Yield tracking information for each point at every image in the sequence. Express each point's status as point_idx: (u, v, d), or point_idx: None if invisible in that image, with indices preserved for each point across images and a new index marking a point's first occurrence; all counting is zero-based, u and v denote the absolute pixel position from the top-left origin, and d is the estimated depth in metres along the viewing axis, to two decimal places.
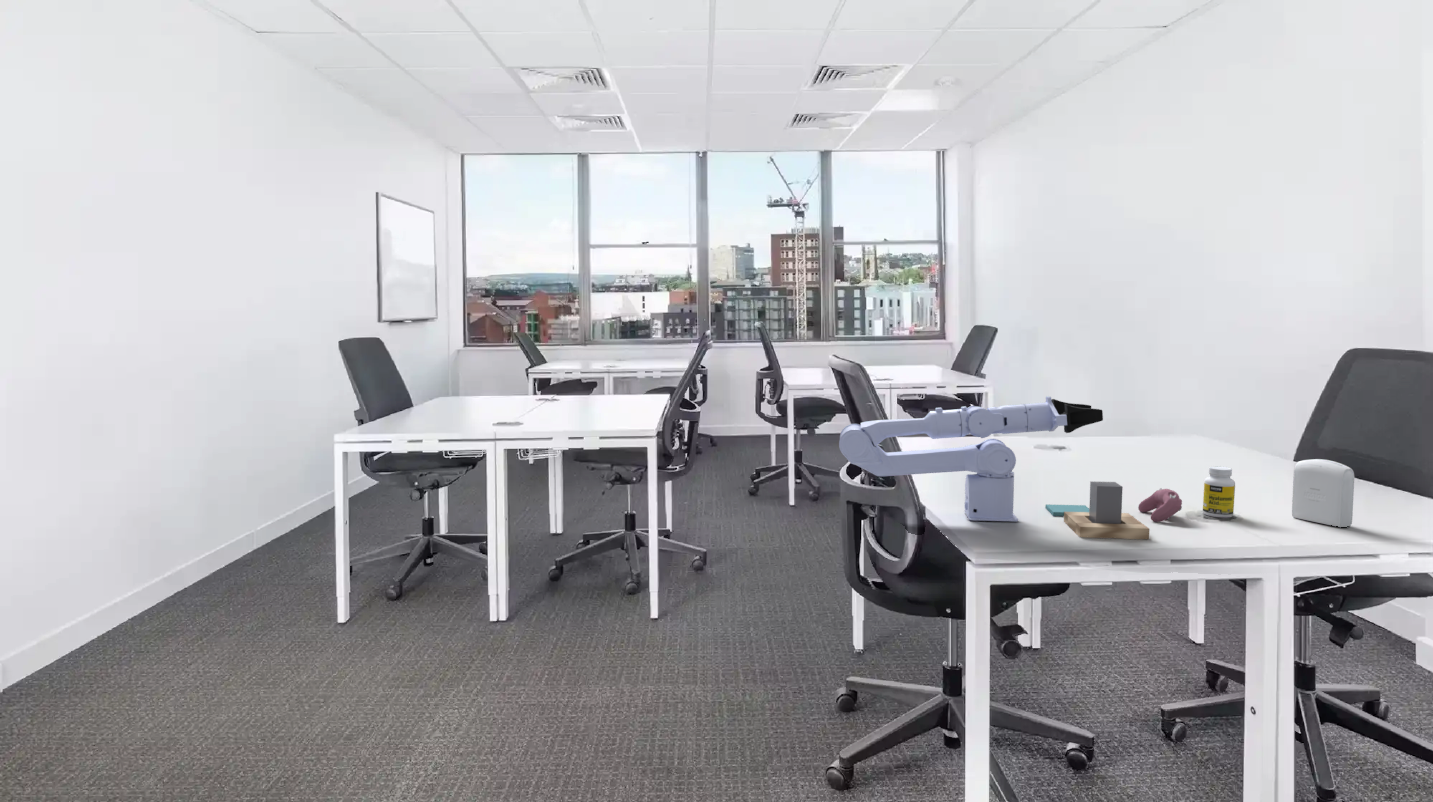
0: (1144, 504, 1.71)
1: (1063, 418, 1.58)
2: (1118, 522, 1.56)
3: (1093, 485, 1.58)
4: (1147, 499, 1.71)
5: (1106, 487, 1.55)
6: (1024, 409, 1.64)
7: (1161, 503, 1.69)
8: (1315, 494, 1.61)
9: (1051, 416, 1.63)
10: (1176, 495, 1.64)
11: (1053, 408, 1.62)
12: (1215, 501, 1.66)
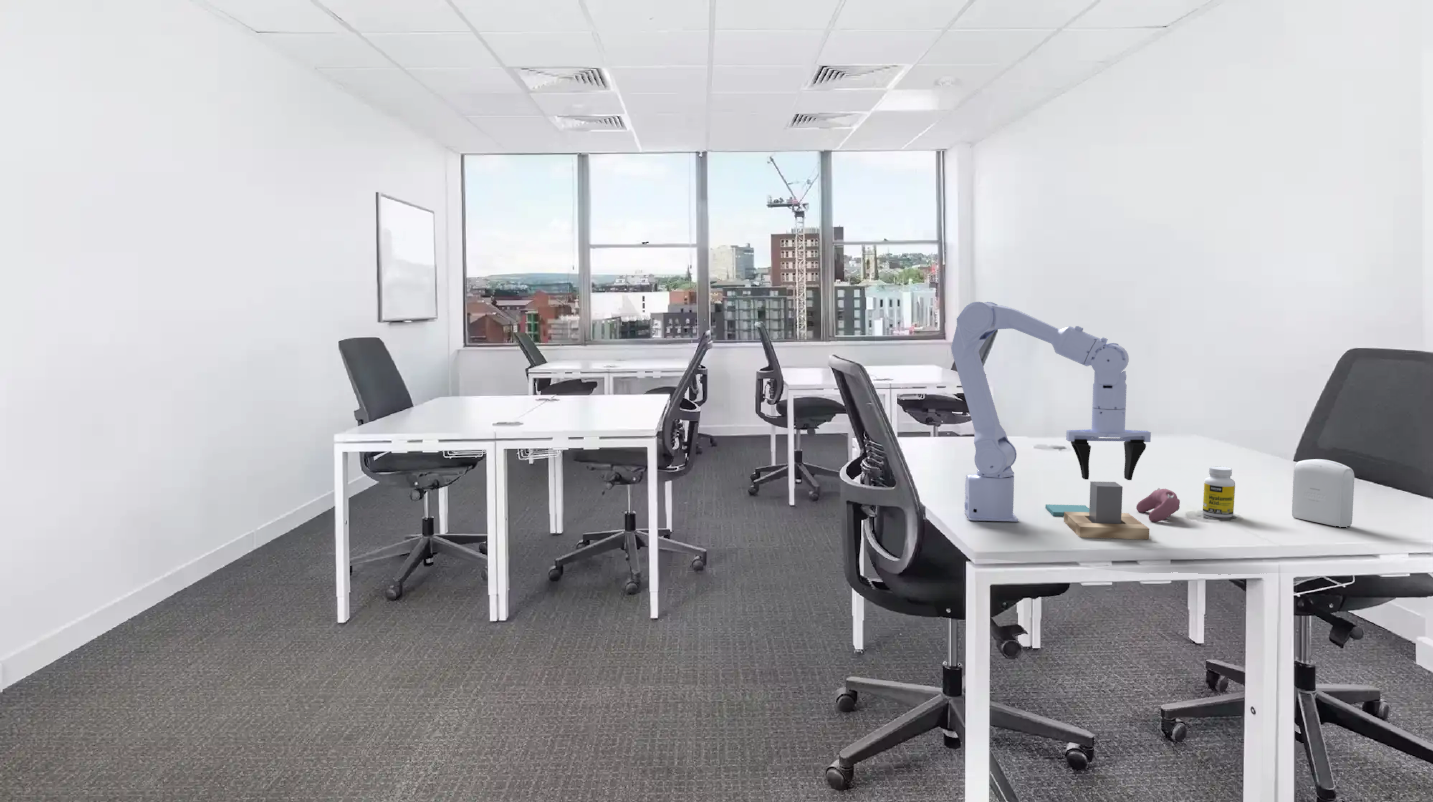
0: (1142, 504, 1.72)
1: (1067, 437, 1.57)
2: (1118, 522, 1.56)
3: (1093, 485, 1.58)
4: (1145, 499, 1.72)
5: (1106, 487, 1.55)
6: (1119, 407, 1.53)
7: (1159, 503, 1.69)
8: (1315, 494, 1.61)
9: (1091, 431, 1.57)
10: (1174, 495, 1.64)
11: (1091, 434, 1.55)
12: (1215, 501, 1.66)
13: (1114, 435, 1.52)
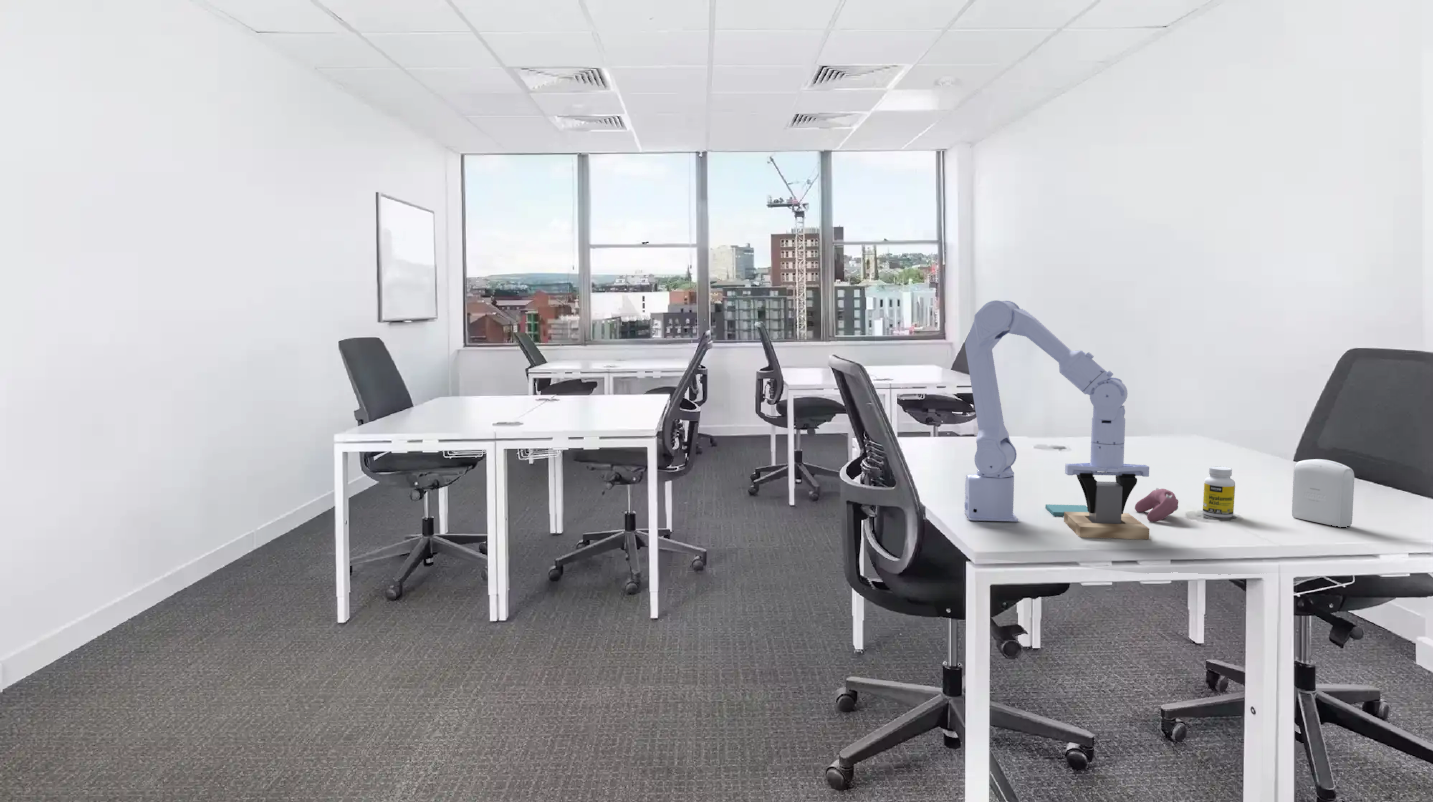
0: (1140, 504, 1.72)
1: (1066, 471, 1.58)
2: (1118, 522, 1.56)
3: None
4: (1143, 499, 1.72)
5: (1106, 487, 1.55)
6: (1118, 442, 1.54)
7: (1157, 503, 1.69)
8: (1315, 494, 1.61)
9: (1090, 465, 1.57)
10: (1172, 495, 1.64)
11: (1090, 468, 1.56)
12: (1215, 501, 1.66)
13: (1113, 470, 1.53)
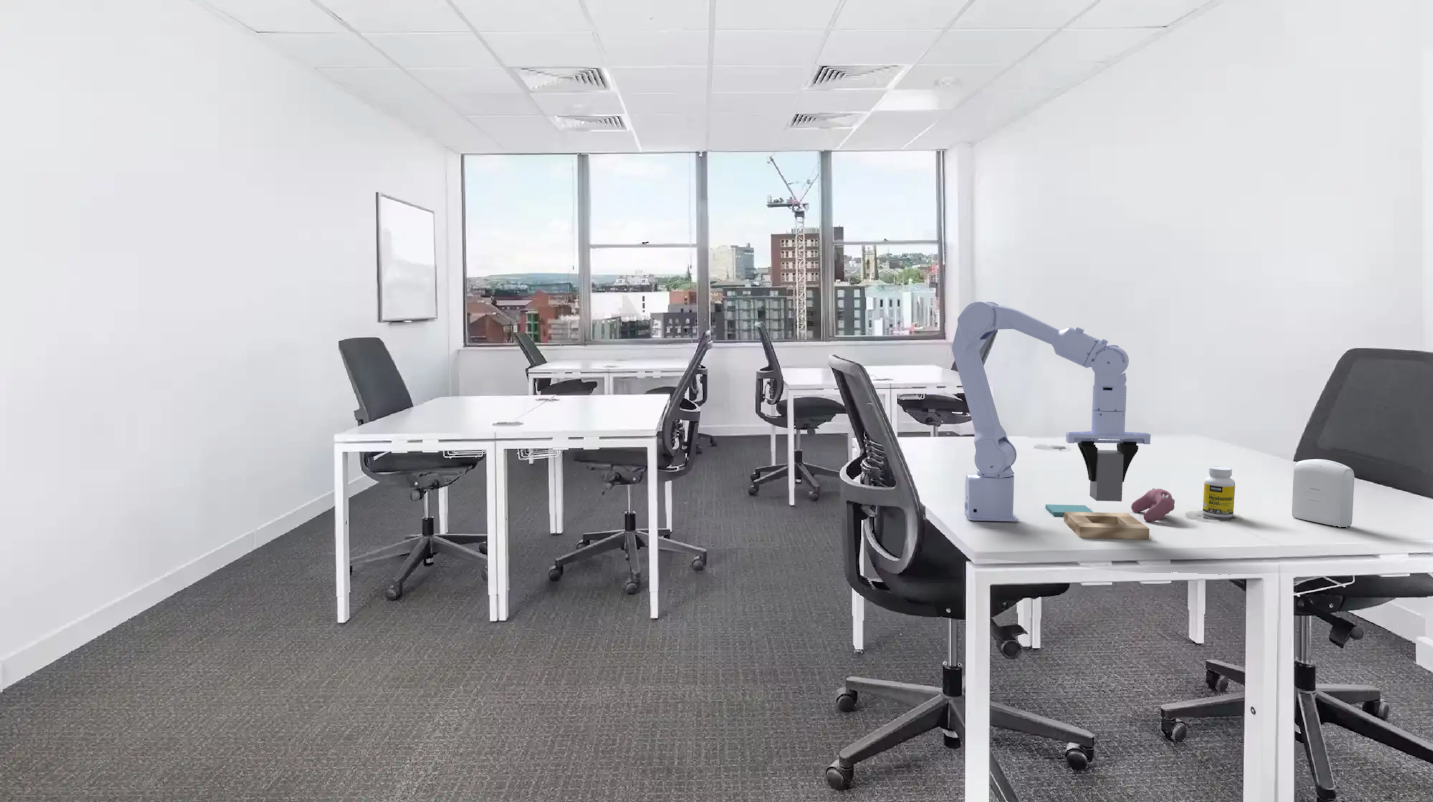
0: (1137, 504, 1.72)
1: (1067, 439, 1.57)
2: (1119, 490, 1.55)
3: None
4: (1140, 499, 1.72)
5: (1107, 455, 1.55)
6: (1119, 409, 1.53)
7: (1154, 503, 1.69)
8: (1315, 494, 1.61)
9: (1091, 433, 1.57)
10: (1169, 495, 1.65)
11: (1091, 436, 1.55)
12: (1215, 501, 1.66)
13: (1114, 437, 1.53)
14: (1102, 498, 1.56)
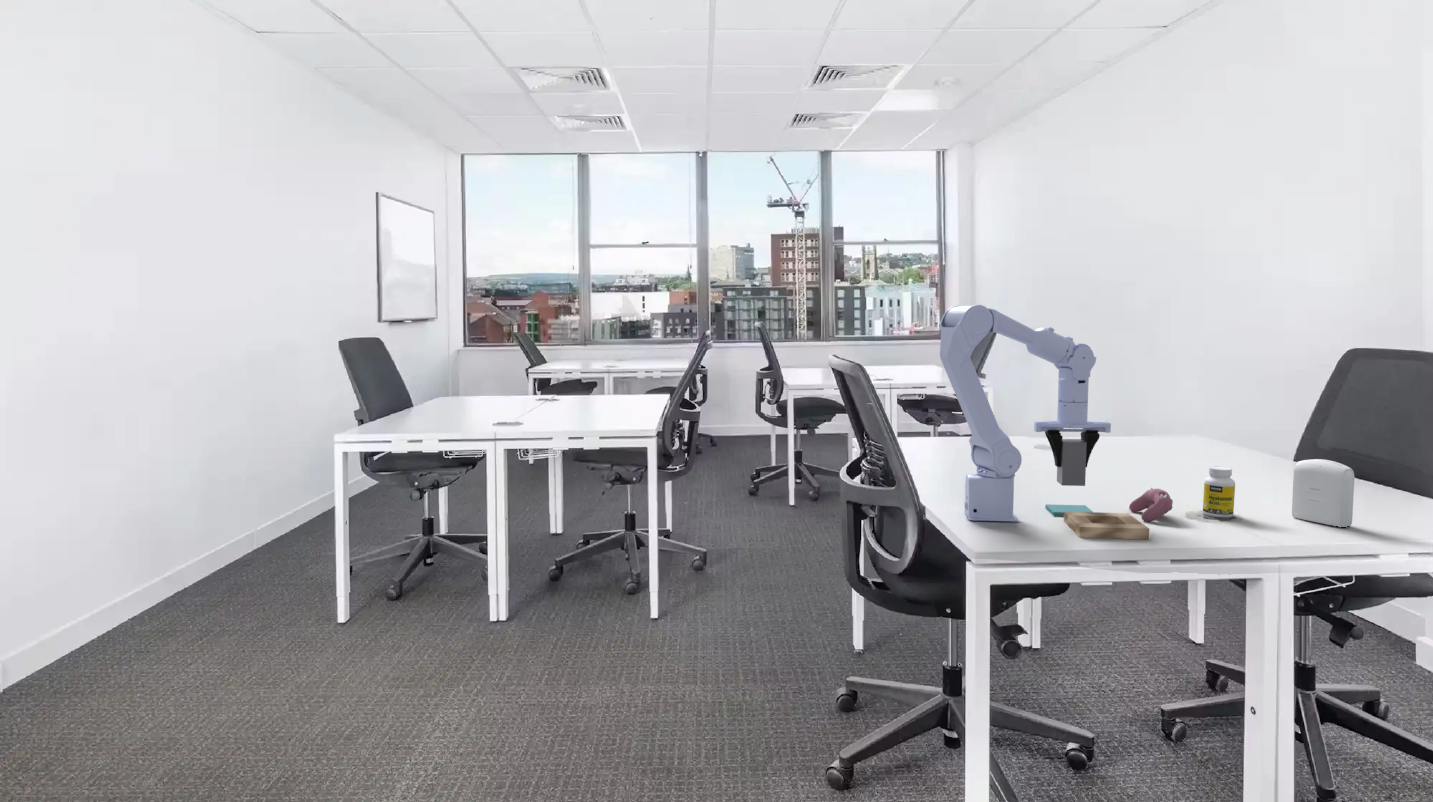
0: (1135, 504, 1.72)
1: (1035, 428, 1.72)
2: (1083, 475, 1.69)
3: None
4: (1138, 499, 1.72)
5: (1071, 443, 1.69)
6: (1087, 400, 1.69)
7: (1152, 503, 1.69)
8: (1315, 494, 1.61)
9: (1057, 422, 1.71)
10: (1167, 495, 1.65)
11: (1056, 425, 1.69)
12: (1215, 501, 1.66)
13: (1077, 426, 1.67)
14: (1067, 483, 1.70)
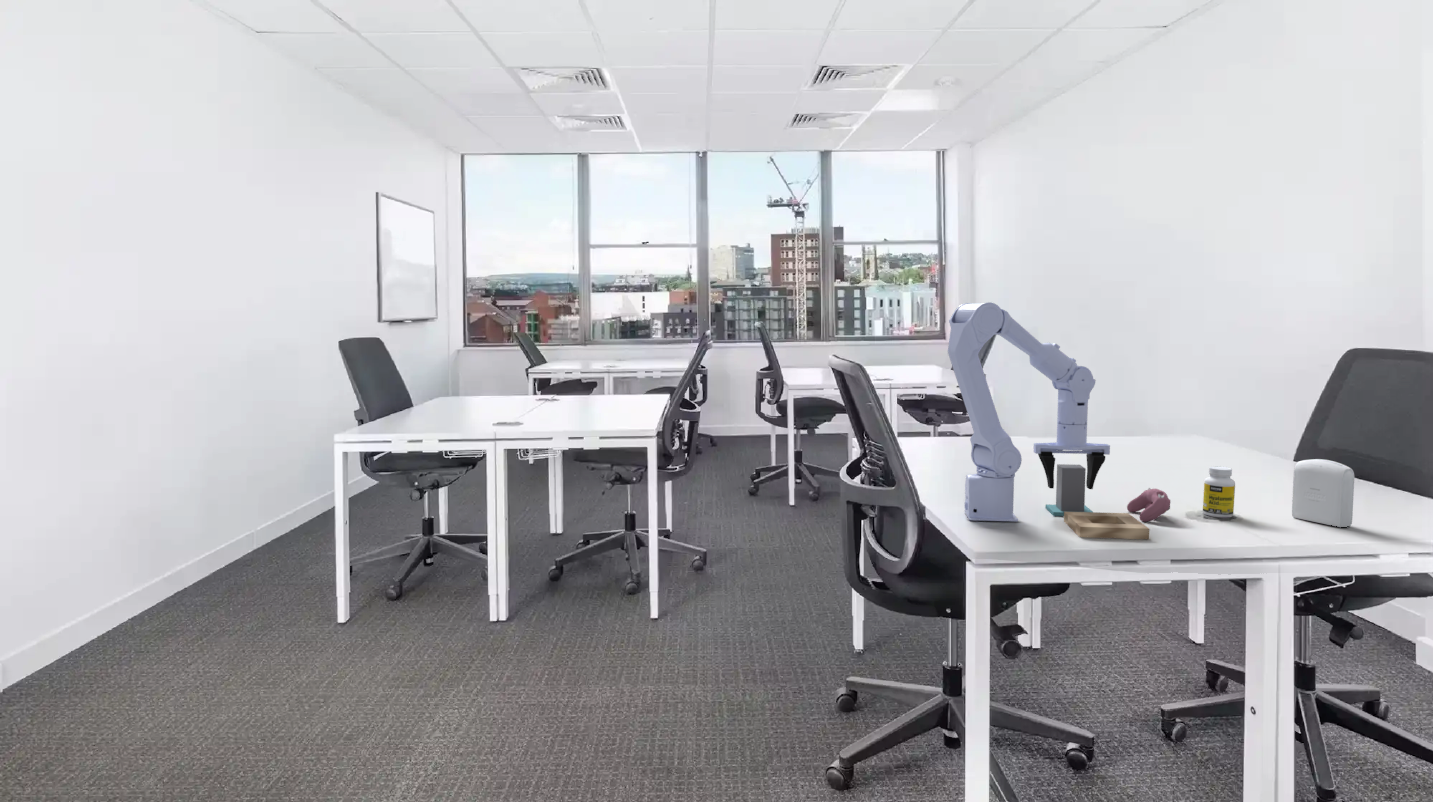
0: (1133, 504, 1.72)
1: (1034, 450, 1.72)
2: (1082, 501, 1.69)
3: (1059, 467, 1.72)
4: (1136, 499, 1.72)
5: (1071, 469, 1.69)
6: (1086, 422, 1.69)
7: (1150, 503, 1.69)
8: (1315, 494, 1.61)
9: (1056, 444, 1.71)
10: (1165, 495, 1.65)
11: (1055, 447, 1.70)
12: (1215, 501, 1.66)
13: (1076, 448, 1.67)
14: (1066, 509, 1.70)
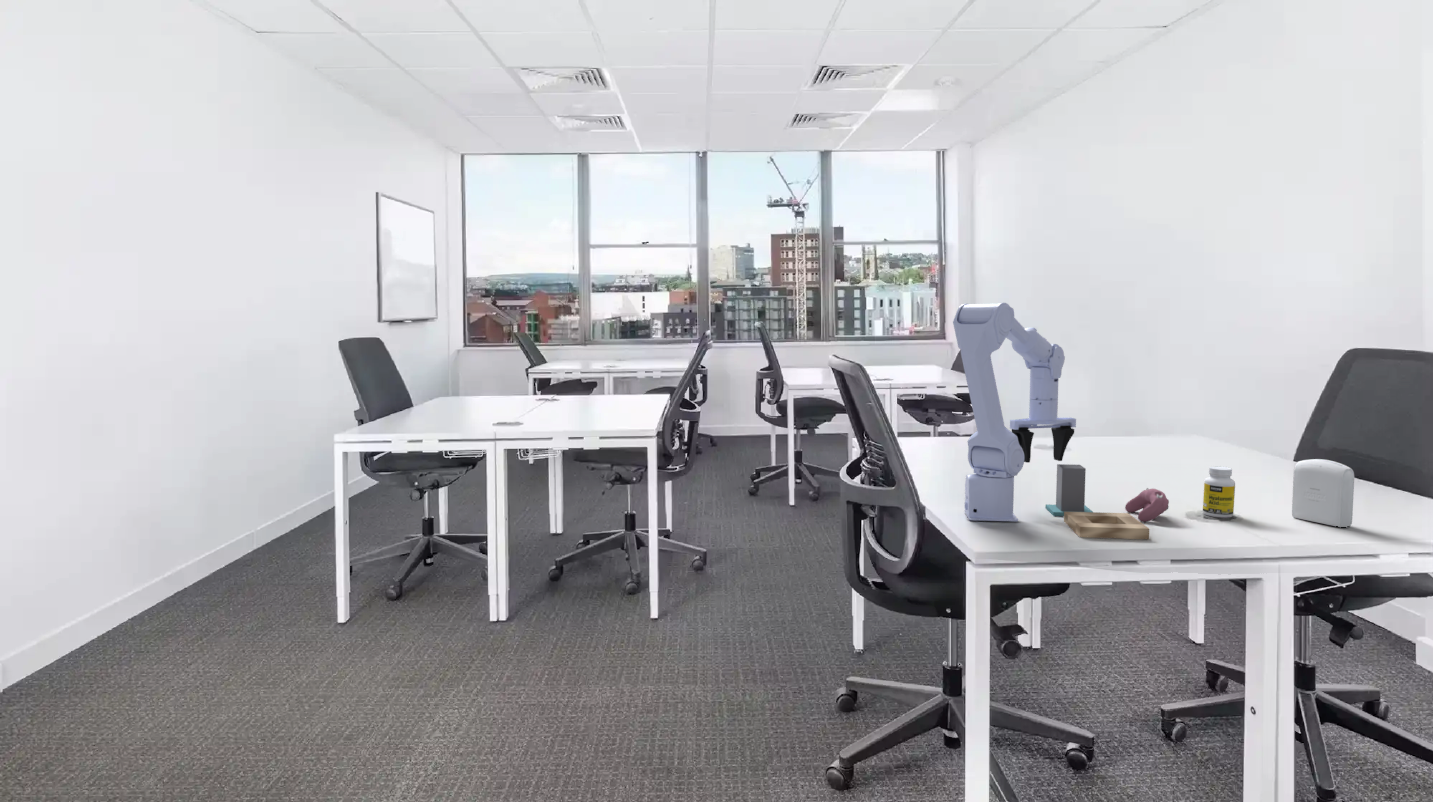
0: (1131, 504, 1.72)
1: (1013, 426, 1.78)
2: (1082, 501, 1.69)
3: (1059, 467, 1.72)
4: (1134, 499, 1.72)
5: (1071, 469, 1.69)
6: None
7: (1148, 503, 1.69)
8: (1315, 494, 1.61)
9: (1031, 420, 1.78)
10: (1163, 495, 1.65)
11: (1033, 422, 1.77)
12: (1215, 501, 1.66)
13: (1053, 422, 1.75)
14: (1066, 509, 1.70)
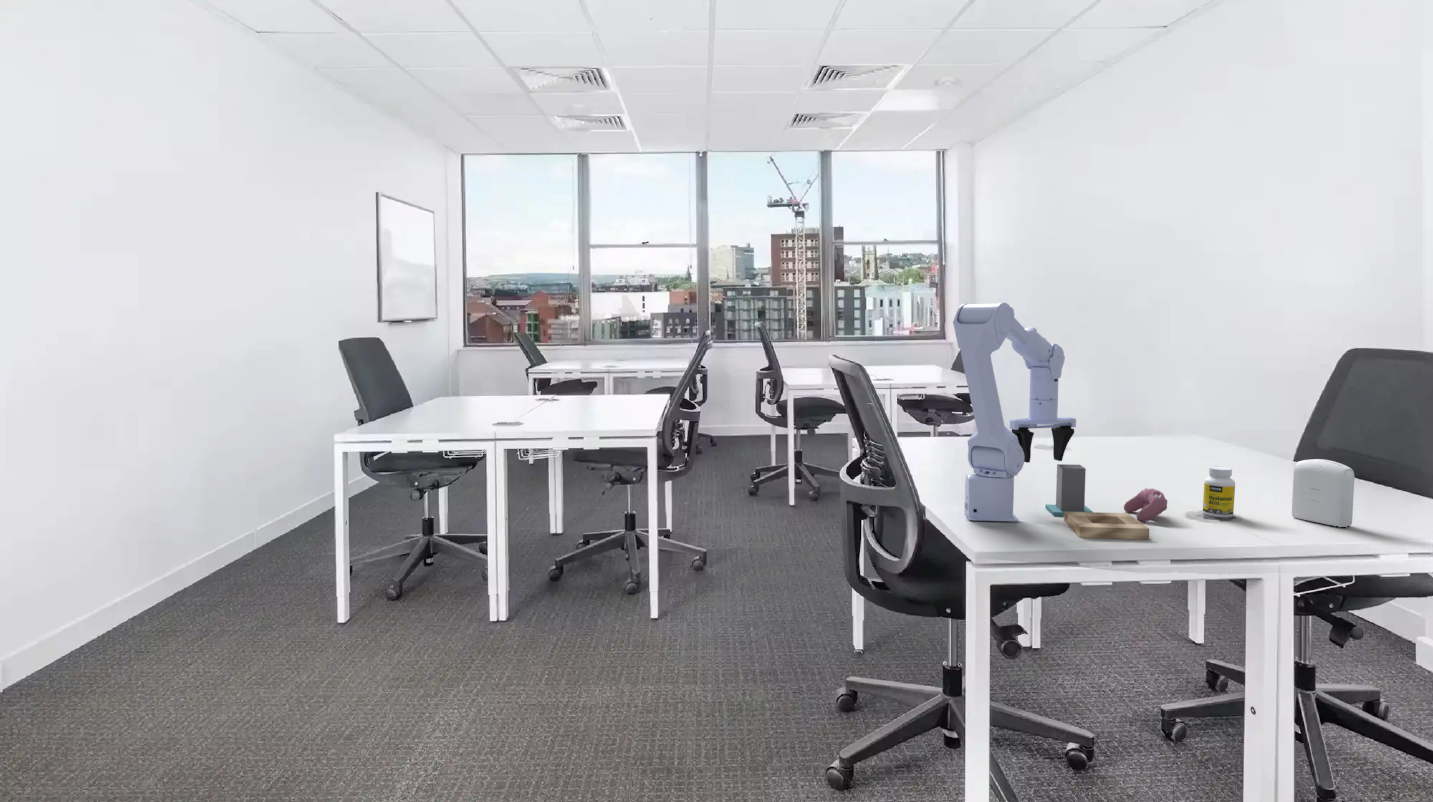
0: (1129, 504, 1.72)
1: (1013, 426, 1.78)
2: (1082, 501, 1.69)
3: (1059, 467, 1.72)
4: (1132, 499, 1.72)
5: (1071, 469, 1.69)
6: None
7: (1146, 503, 1.69)
8: (1315, 494, 1.61)
9: (1031, 420, 1.78)
10: (1161, 495, 1.65)
11: (1033, 422, 1.77)
12: (1215, 501, 1.66)
13: (1053, 422, 1.75)
14: (1066, 509, 1.70)
